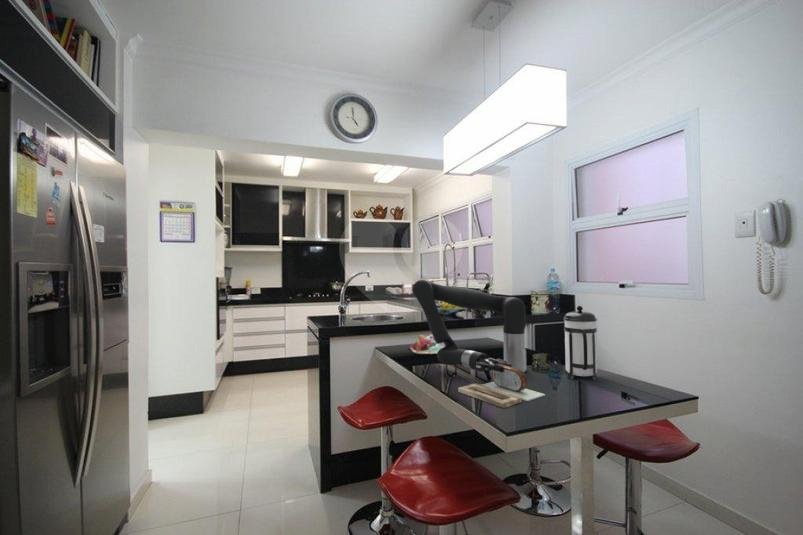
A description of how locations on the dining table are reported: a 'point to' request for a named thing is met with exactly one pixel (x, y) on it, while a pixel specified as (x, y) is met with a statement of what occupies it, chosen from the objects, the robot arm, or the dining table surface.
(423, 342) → the candy landscape model
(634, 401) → the dining table surface
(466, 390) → the slot holder
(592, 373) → the coffee press
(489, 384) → the mat
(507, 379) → the tin
